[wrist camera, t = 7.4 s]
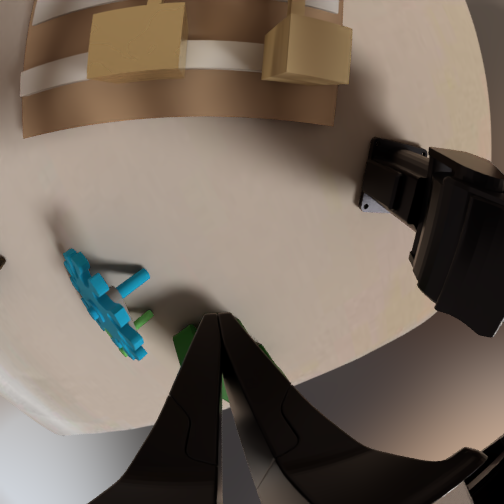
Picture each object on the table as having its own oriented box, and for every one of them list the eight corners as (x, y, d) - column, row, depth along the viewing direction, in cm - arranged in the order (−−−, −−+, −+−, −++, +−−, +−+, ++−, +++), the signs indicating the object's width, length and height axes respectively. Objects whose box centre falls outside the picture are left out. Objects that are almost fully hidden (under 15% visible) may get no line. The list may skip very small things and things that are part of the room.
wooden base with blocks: (334, -22, 12) (390, -54, 6) (324, 124, 18) (383, 142, 12) (47, -13, 8) (-1, -38, 1) (33, 135, 14) (-28, 160, 8)
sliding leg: (197, -34, 9) (200, -77, 5) (185, 79, 14) (178, 68, 9) (134, -28, 9) (114, -67, 4) (120, 84, 13) (86, 79, 8)
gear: (44, 238, 17) (101, 305, 13) (102, 204, 21) (179, 248, 17) (89, 326, 24) (151, 390, 20) (130, 294, 28) (197, 346, 24)
